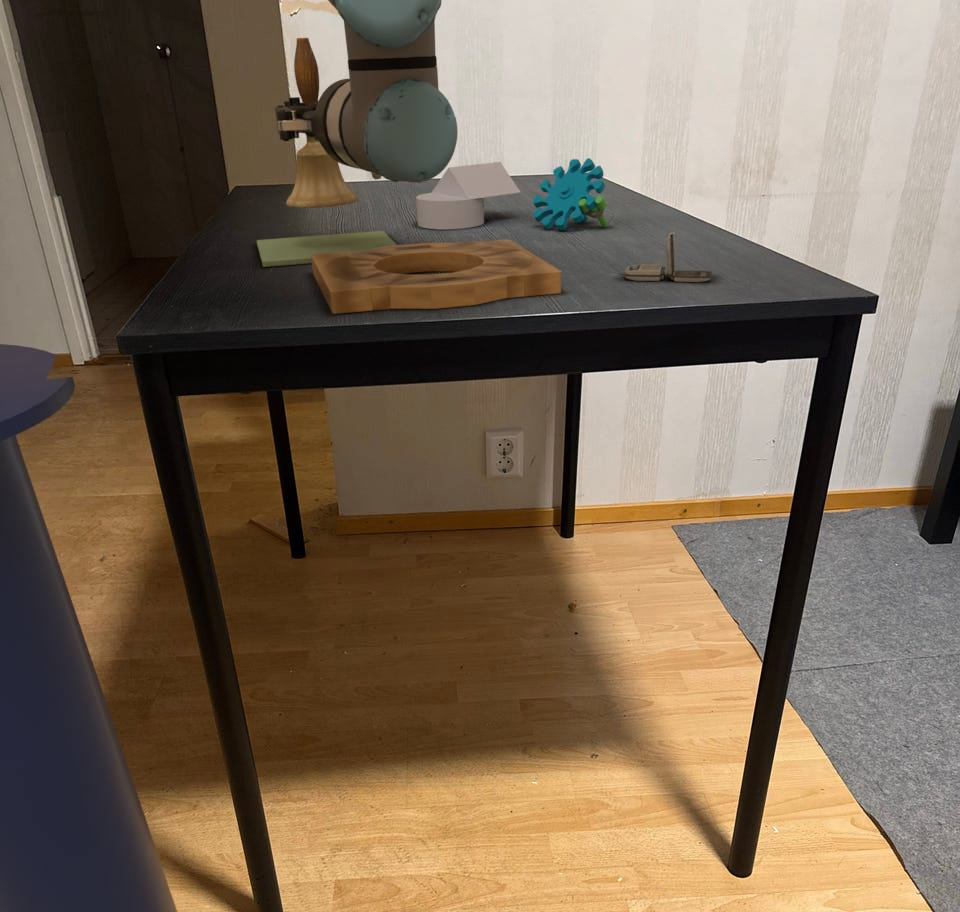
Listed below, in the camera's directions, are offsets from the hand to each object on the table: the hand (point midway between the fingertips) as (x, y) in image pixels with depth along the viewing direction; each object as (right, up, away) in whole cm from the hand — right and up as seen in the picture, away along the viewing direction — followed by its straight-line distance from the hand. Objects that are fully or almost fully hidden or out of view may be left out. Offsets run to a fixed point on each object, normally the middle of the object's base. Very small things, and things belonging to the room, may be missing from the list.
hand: (299, 114), depth 102 cm
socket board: (+16, -25, -13) cm, 32 cm away
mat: (+3, -14, +4) cm, 15 cm away
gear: (+33, -8, +12) cm, 36 cm away
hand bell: (+3, -10, +1) cm, 10 cm away
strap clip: (+40, -25, -14) cm, 49 cm away
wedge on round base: (+19, -4, +18) cm, 26 cm away
